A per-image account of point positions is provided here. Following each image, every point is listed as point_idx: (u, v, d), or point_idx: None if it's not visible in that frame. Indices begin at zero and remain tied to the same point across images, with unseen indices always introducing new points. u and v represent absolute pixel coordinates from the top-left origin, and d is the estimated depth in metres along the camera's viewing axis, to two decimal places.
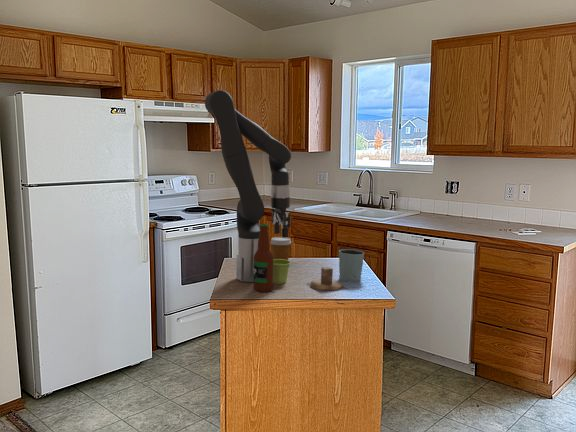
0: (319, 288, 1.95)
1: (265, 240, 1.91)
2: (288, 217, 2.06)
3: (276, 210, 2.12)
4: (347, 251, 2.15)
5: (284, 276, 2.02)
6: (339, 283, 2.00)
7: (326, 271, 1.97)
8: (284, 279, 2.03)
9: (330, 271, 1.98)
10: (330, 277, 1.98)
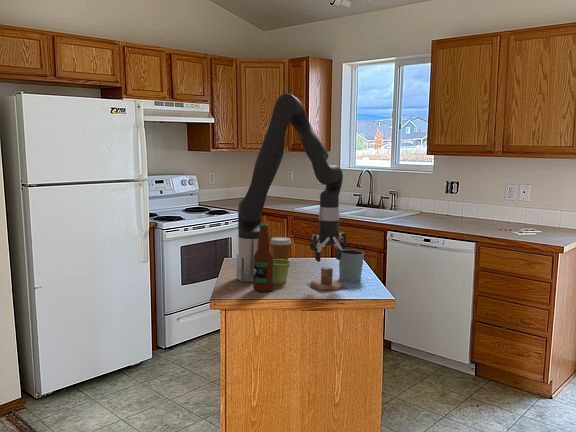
0: (319, 288, 1.95)
1: (265, 240, 1.91)
2: None
3: (326, 235, 1.96)
4: (347, 251, 2.15)
5: (284, 276, 2.02)
6: (339, 283, 2.00)
7: (326, 271, 1.97)
8: (284, 279, 2.03)
9: (330, 271, 1.98)
10: (329, 277, 1.98)
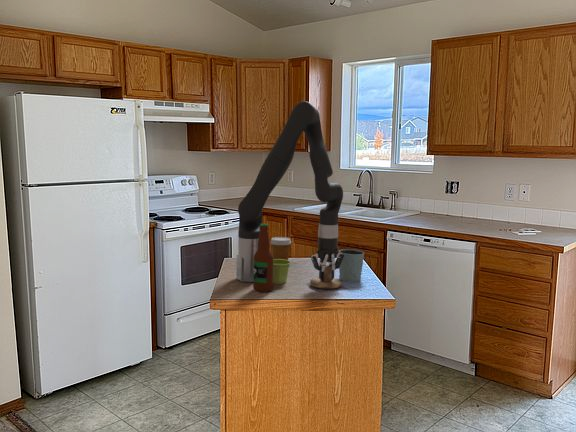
0: (318, 286, 1.95)
1: (265, 240, 1.91)
2: None
3: (324, 252, 1.97)
4: (347, 251, 2.15)
5: (284, 276, 2.02)
6: (338, 281, 2.00)
7: (325, 269, 1.98)
8: (284, 279, 2.03)
9: (329, 269, 1.98)
10: (329, 275, 1.99)
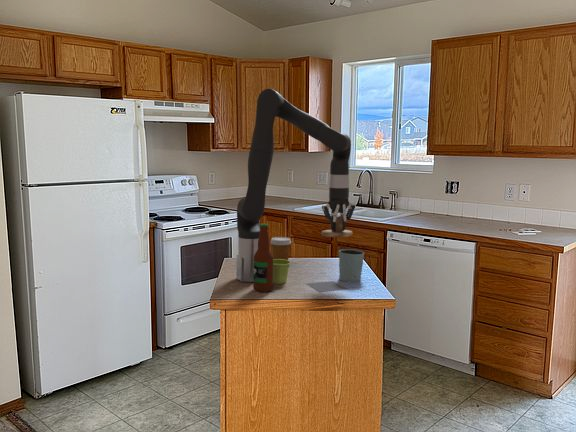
0: (330, 235, 1.97)
1: (265, 240, 1.91)
2: None
3: (336, 202, 1.98)
4: (347, 251, 2.15)
5: (284, 276, 2.02)
6: (349, 231, 2.02)
7: (336, 219, 1.99)
8: (284, 279, 2.03)
9: (340, 218, 2.00)
10: (340, 225, 2.00)
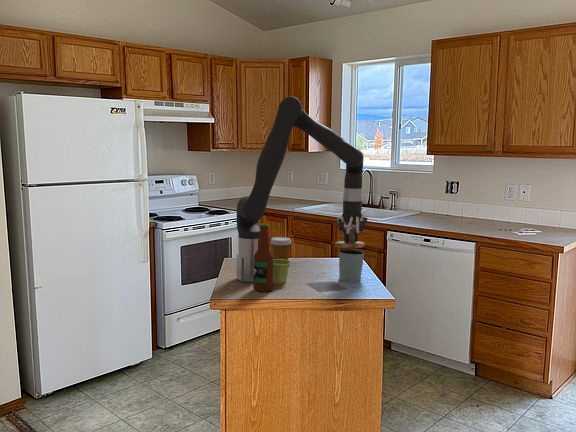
0: (343, 246, 2.06)
1: (265, 240, 1.91)
2: None
3: (349, 215, 2.07)
4: (347, 251, 2.15)
5: (284, 276, 2.02)
6: (361, 242, 2.11)
7: (349, 230, 2.08)
8: (284, 279, 2.03)
9: (352, 230, 2.09)
10: (352, 236, 2.09)
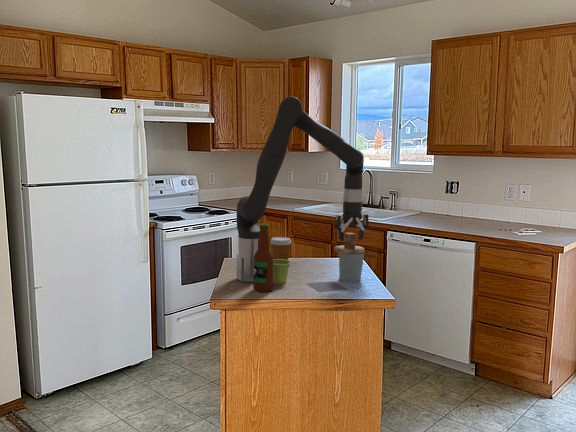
0: (343, 252, 2.06)
1: (265, 240, 1.91)
2: None
3: (349, 215, 2.07)
4: None
5: (284, 276, 2.02)
6: (361, 248, 2.11)
7: (349, 236, 2.08)
8: (284, 279, 2.03)
9: (353, 236, 2.09)
10: (353, 242, 2.09)
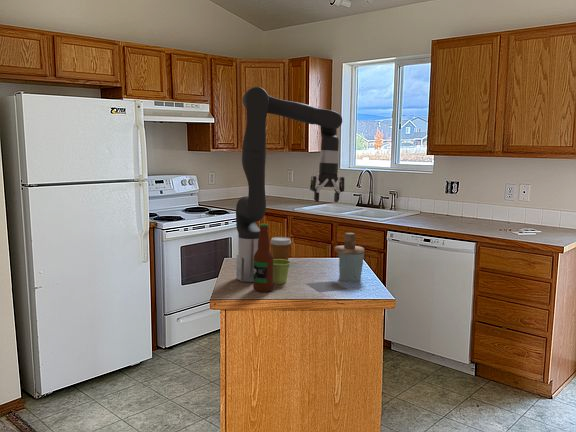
0: (343, 252, 2.06)
1: (265, 240, 1.91)
2: None
3: (325, 177, 2.10)
4: None
5: (284, 276, 2.02)
6: (361, 248, 2.11)
7: (349, 236, 2.08)
8: (284, 279, 2.03)
9: (353, 236, 2.09)
10: (353, 242, 2.09)
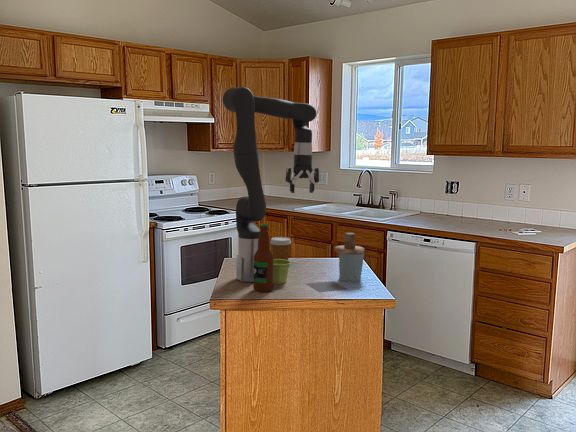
0: (343, 252, 2.06)
1: (265, 240, 1.91)
2: None
3: (300, 168, 2.15)
4: None
5: (284, 276, 2.02)
6: (361, 248, 2.11)
7: (349, 236, 2.08)
8: (284, 279, 2.03)
9: (353, 236, 2.09)
10: (353, 242, 2.09)
